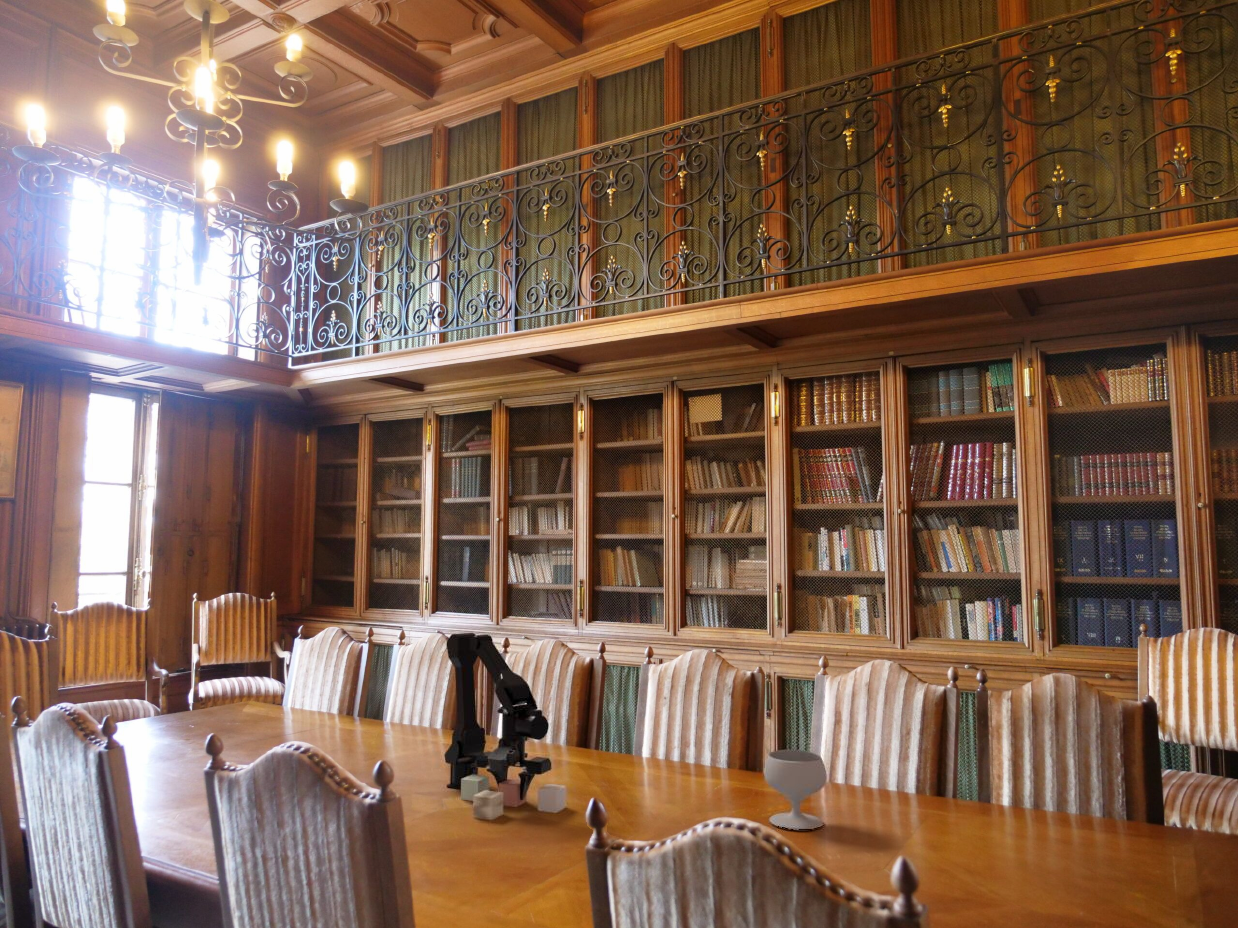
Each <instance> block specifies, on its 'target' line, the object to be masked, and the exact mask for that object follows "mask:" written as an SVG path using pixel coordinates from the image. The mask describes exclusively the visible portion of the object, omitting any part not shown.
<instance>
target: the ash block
mask: <svg viewBox="0 0 1238 928" xmlns="http://www.w3.org/2000/svg"><path fill="white" fill-rule="evenodd" d="M472 802H473V803H472V805H473V808H472V817H473V819H480V820H487V821H492V820H494V819H497V818H498V817H500V816H502V815H504V805H503V792H499V791H494V790H489V791H488V790H485V791H482V792H480V793H478V794H476V795H474V796H473V801H472Z"/></svg>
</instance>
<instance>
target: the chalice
mask: <svg viewBox="0 0 1238 928" xmlns="http://www.w3.org/2000/svg"><path fill="white" fill-rule="evenodd" d="M763 772H764V780H765V782H766V783H767V785H768V786H769V787H770V788H772V789H773V790H775V792H777V793H779V794H780V795H782V796H784V797H785V798H787V800H788V801H789V802H790V805H791V811H790V812H780V813H776V814H774V815H771V817H769V819H768V821H769V823H770V822H771V823H770V824H772V826H775V827H778V826H779V827H778V828H780V829H783V828H782V827H785V828H788V829H787V830H791V829H793V830H792V831H800V830H799V829H810V828H815V827H818V826H821V825H822V824H823V823H824V821H823V820H822V819H821V818H820V817H818V816H815V815H813V814H808V813H804V812H803V813H802V812H801V805H802V803H803V802H804V800H805V799H807V798H808V797H811V796H812V795H814V794H817V793H818V792H820V791H821V790H822V789H823V788H824V786H825V785H826V783H827V777H828V776H827V770H826V767H825V763H824V761H823V759H822V757H821V755H820V754H818V753H816V752H813V751H809V750H803V749H780V750H773V751H771V752H769V754H768V756H767V758H766V761H765V765H764V771H763ZM822 821H823V822H822ZM823 825H824V824H823ZM785 828H784V829H785Z"/></svg>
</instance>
